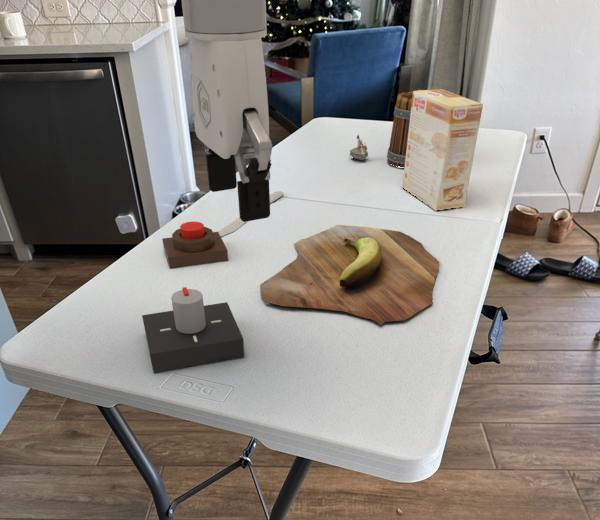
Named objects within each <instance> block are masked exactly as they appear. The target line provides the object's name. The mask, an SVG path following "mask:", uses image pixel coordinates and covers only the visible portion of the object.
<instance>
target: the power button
mask: <svg viewBox="0 0 600 520" xmlns="http://www.w3.org/2000/svg"><path fill="white" fill-rule="evenodd" d="M204 227H205V225H204V223H203V222H200V221H187V222H183V223H181V224H180V226H179V229H180V230H181V237H182V238H183V239H189V240H193V239H199V238H202V237H204V236H205V231H204Z"/></svg>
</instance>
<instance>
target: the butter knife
mask: <svg viewBox="0 0 600 520" xmlns="http://www.w3.org/2000/svg"><path fill="white" fill-rule="evenodd" d="M283 195H284V192H283V191H281V190H280V191H274V192H272V193H271V194H270V204H271V203H274V202H275V201H276V200H278V199H280V198H282V197H283ZM245 223H247V222H243V221H242V220H241V219H240V217H238V218H236V219H235V220H234V221H232V222H231V223H228V224H227V225H226V226H224V227H223V228H222V229H220V230H219V231H217V232H218V233H219V234H220V236H221V237H225V236H227V235H229V234H231V233H233V232H235V231H237V230H238V229H239V228H241V227H242V226H243V225H244V224H245Z"/></svg>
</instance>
